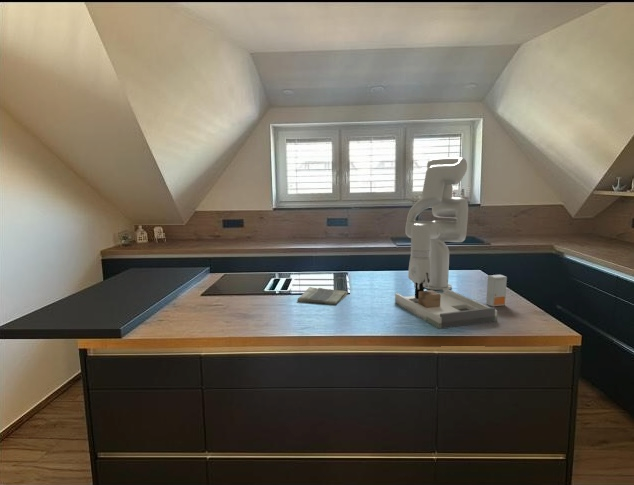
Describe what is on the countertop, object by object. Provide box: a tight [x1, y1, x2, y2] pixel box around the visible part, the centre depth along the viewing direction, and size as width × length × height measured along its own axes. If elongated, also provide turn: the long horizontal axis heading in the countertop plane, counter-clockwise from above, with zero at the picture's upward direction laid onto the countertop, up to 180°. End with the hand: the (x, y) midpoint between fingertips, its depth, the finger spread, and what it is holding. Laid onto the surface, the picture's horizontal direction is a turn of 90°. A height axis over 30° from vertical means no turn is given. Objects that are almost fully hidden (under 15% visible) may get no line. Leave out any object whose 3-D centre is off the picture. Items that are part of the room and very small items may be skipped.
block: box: [418, 289, 441, 308], centre depth 162 cm, size 6×6×5 cm
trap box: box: [394, 288, 498, 330], centre depth 161 cm, size 32×24×5 cm
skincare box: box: [485, 274, 508, 307], centre depth 167 cm, size 6×4×12 cm
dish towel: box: [297, 286, 349, 306], centre depth 181 cm, size 19×18×3 cm
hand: (419, 298), depth 169 cm, fingers closed
